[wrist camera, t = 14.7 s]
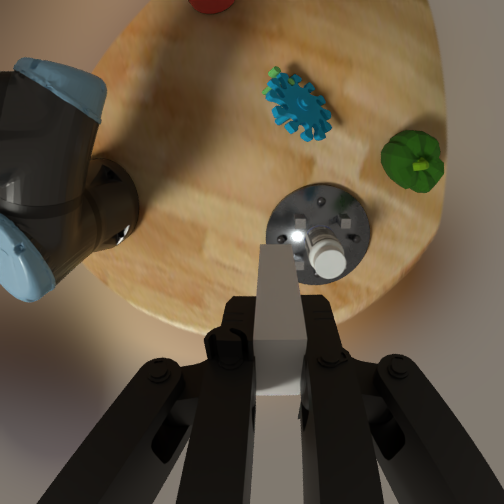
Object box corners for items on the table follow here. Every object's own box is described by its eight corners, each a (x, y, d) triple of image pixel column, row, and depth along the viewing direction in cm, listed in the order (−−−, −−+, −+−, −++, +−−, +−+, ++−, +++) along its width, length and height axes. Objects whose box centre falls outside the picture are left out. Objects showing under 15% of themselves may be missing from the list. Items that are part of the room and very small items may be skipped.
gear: (346, 128, 32) (303, 147, 27) (316, 143, 37) (271, 165, 32) (304, 62, 30) (252, 66, 25) (278, 82, 35) (227, 93, 30)
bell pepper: (424, 138, 33) (462, 144, 24) (413, 188, 36) (448, 206, 27) (378, 121, 33) (410, 120, 23) (367, 174, 36) (396, 189, 27)
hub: (266, 283, 45) (266, 294, 42) (264, 184, 38) (264, 189, 35) (361, 281, 43) (366, 291, 40) (372, 186, 37) (380, 191, 34)
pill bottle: (327, 257, 41) (338, 286, 33) (299, 247, 41) (305, 276, 33) (339, 230, 39) (355, 254, 31) (311, 219, 39) (321, 242, 31)
